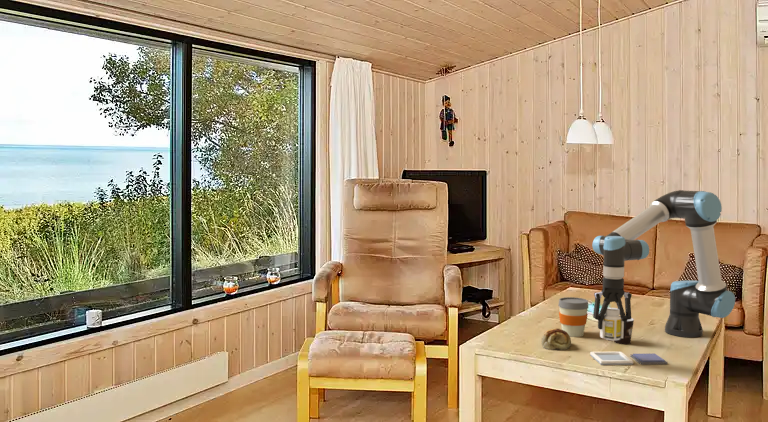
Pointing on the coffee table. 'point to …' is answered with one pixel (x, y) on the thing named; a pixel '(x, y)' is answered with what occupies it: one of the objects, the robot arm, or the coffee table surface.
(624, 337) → the coffee mug
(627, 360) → the picture frame
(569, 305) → the reusable coffee cup
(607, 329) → the supplement bottle
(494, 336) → the coffee table surface
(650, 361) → the ink pad
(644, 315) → the coffee table surface
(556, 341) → the pastry
